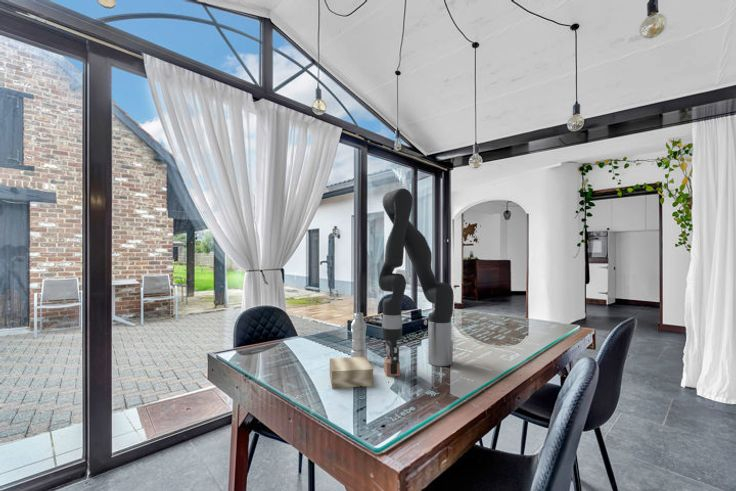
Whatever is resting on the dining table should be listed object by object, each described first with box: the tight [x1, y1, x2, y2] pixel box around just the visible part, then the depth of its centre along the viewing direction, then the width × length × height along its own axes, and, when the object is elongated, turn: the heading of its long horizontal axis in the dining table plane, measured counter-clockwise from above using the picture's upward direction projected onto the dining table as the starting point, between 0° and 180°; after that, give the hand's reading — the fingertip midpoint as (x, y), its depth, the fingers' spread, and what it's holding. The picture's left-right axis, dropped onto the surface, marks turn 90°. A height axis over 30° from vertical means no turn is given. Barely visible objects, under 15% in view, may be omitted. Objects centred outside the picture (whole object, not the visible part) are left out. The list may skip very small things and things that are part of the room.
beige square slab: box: [329, 356, 374, 389], centre depth 123 cm, size 14×14×6 cm
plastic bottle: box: [350, 312, 368, 358], centre depth 143 cm, size 6×7×20 cm
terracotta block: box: [383, 357, 401, 377], centre depth 129 cm, size 5×5×5 cm
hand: (391, 370), depth 129 cm, fingers open, 6 cm apart
